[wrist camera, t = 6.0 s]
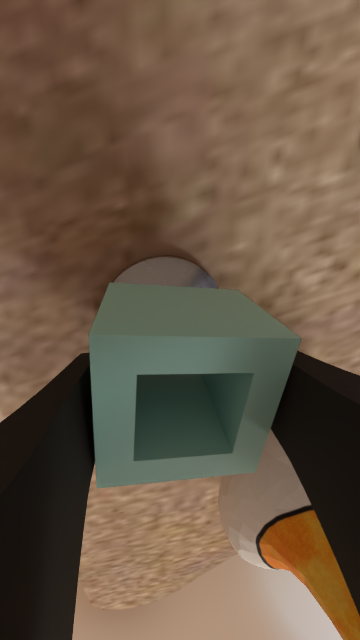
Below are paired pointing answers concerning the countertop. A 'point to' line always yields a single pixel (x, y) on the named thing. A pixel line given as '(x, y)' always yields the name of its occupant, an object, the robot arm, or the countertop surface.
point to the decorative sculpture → (285, 532)
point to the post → (166, 273)
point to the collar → (183, 382)
